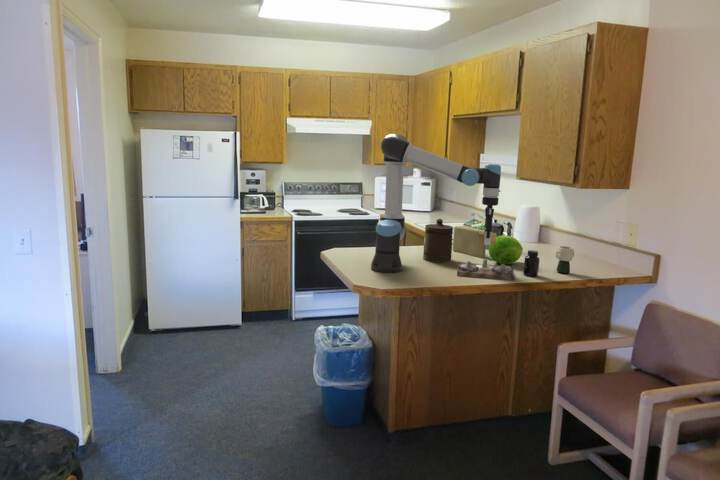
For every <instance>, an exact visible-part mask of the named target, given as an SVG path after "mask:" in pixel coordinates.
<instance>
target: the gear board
mask: <svg viewBox="0 0 720 480" xmlns="http://www.w3.org/2000/svg"><path fill="white" fill-rule="evenodd" d="M456 272H457V273H456V276H459V277H468V278H469V277H470V278H479V277H480V278H481V279H482V278H483V279H490V278H491V279H493V280H505V281H515V275H514V269H512V267H511V266H510V265H506V264H500V265H497V264H488V260H487V259H486V258H483V260H482V263H472V262H471V261H469V260H468V261H466V262H463V261H462V262H461V261H460V262H459V261H457V269H456Z"/></svg>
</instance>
